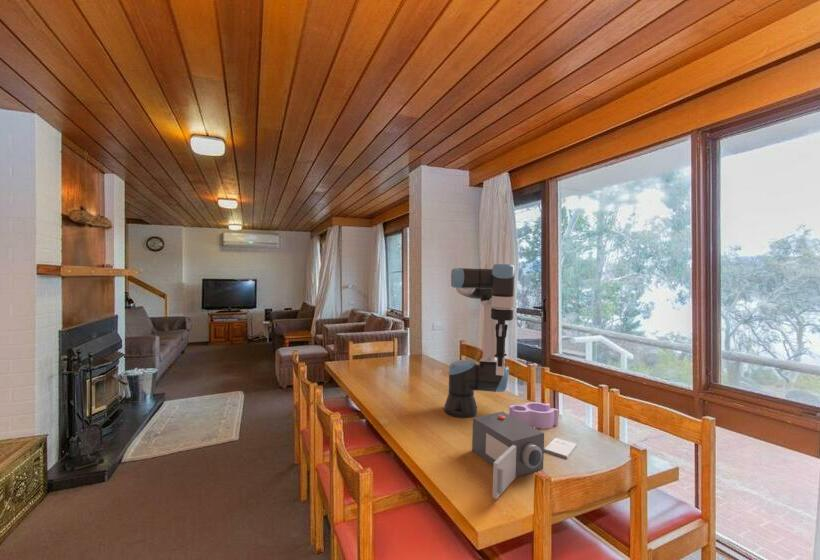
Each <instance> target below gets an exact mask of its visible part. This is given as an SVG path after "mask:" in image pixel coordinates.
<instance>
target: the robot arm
mask: <svg viewBox="0 0 820 560" xmlns="http://www.w3.org/2000/svg"><path fill="white" fill-rule="evenodd" d="M515 270H516V269H515V265H514V264H512V263H510V264H509V263H494V264H493V265H492V268H470V267H469V268H464V267H463V268H462V267H456V268H452V269H451V271H450V272H451V273H450V286H451V287H452V288H455V290H456V292H457V293H458V294H460V295H461V296H463V297H466V298H470V299H476V300H477V299H478V300H479V299H480V304H481V305H482V306H483V325H482V326H483V327H482V329H483V332H482V334H483V335H482V345H483V346H482V358H480V359H479V363H478V364H476V362H475V361H474V360H471V359H459V360H455V361H452V362H451V363H450V364H449V368H448V394H447V398H446V400H445V403H444V413H445V414H446V415H448V416H451V417H454V418H455V417H456V418H462V419H464V418H466V419H467V418H474V417H475V416H476V415H477V414H478V405H477V402H476V399H475V396H474V395H475V391H477V392H478V391H479V392H491V393H492V392H493V393H503V392H505V391H506V389H507V386H508V382H509V375H510V373H509V371H510V368H509V366H507V365H506V361H505V359H506V358H505V357H507V356H508V355H507V354H508V353H506V350H505V349H506V338H507V336H508V335H507V332H508V327H509V325H508V324H506V322H507V321H512V320H514V310H513V308H515V307H514V303H515V295H514V291H515V275H516V273H515Z"/></svg>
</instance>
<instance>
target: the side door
mask: <svg viewBox="0 0 820 560" xmlns="http://www.w3.org/2000/svg"><path fill="white" fill-rule="evenodd" d="M492 467H493V468H492V469H493V471H492V472H493V473H492V475H493V476H492V499H495V500H497V499H498V498H499V497H500V496H501V495H502V493H503V492H504V491H505V490H507V488H508V487H509V485H510V484H511V483H513V481H514V480H515V479H516V478H515V474H516V446H515V445H512V446H511V447H510V448H509V449H508V450H506V451H505V452H504V453H503V454H502V455H501V456H500V457H499V458H498V459H497V460H496V461H495V462H494V463H493V465H492Z"/></svg>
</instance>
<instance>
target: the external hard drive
mask: <svg viewBox="0 0 820 560" xmlns="http://www.w3.org/2000/svg"><path fill="white" fill-rule="evenodd" d="M577 446H578V445H577V443H576V442H571V441H569V440H565V439H562V438H559V437H554V438H553V439H552V440H551V441H550V442H549V443H548V444H547V445H546V446H545V447H544V453H547V454H550V455H554V456H557V457H560V458H563V459H566V460H568V459H569V457H570V456H571V455H572V453H573V452H574V451H575V450H576V448H577Z"/></svg>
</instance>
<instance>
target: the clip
mask: <svg viewBox="0 0 820 560" xmlns="http://www.w3.org/2000/svg"><path fill="white" fill-rule="evenodd" d="M508 408H509V410H508V415H510V416H512V417H514V418H516V419H518V420H520V421H522V422H524V423H526V424H528V425H530V426H532V427H535V428H536V429H538V428H541V429H540V430H548V429H547V428H549V429H551V427H552V428H553V427H554V426H555V427H558V426H559V409H558V408H554V407H551V404H550V403H548V402H547V403H543V402H538V401H537V402H536V401H534V402H532V401H531V402H526V403H524V404H511V405H510V406H509V407H508Z"/></svg>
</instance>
